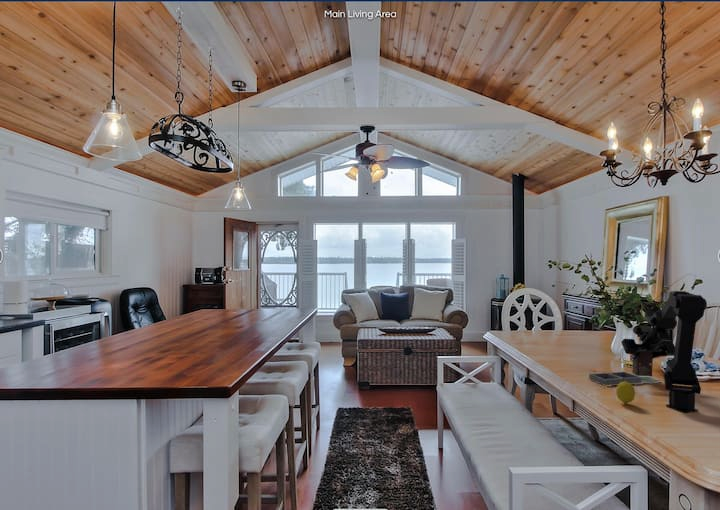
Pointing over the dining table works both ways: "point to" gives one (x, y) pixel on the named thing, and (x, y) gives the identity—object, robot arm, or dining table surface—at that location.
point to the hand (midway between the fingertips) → (640, 358)
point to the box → (643, 363)
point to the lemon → (625, 392)
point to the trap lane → (621, 378)
